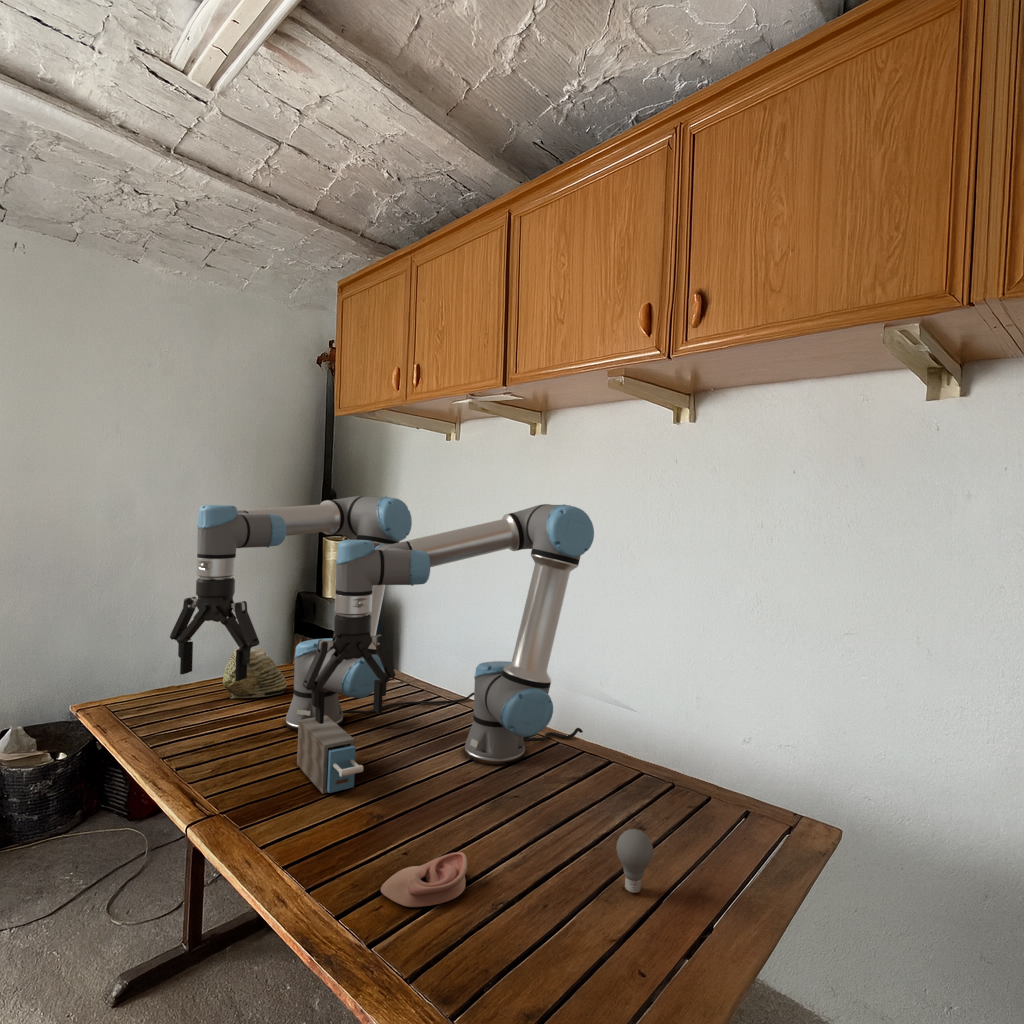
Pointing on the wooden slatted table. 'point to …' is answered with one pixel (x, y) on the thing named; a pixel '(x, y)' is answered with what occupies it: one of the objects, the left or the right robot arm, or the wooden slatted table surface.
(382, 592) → the left robot arm
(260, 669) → the fossil
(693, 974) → the wooden slatted table surface
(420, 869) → the anatomical model
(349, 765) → the drawer
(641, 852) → the light bulb
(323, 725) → the cabinet
